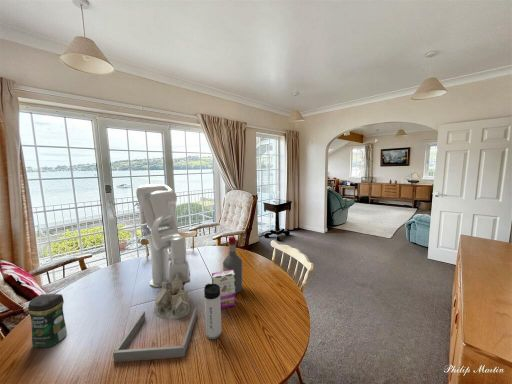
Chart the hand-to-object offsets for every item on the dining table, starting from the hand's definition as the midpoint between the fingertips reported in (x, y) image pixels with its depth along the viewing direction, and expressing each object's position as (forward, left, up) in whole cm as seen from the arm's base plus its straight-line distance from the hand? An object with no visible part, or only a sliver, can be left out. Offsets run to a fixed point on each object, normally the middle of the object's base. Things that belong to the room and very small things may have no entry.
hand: (180, 292), depth 110 cm
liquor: (-3, +28, -2) cm, 28 cm away
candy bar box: (+10, +24, -2) cm, 26 cm away
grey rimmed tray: (+27, 0, -2) cm, 27 cm away
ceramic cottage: (+11, -1, -2) cm, 11 cm away
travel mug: (+28, +21, -2) cm, 35 cm away
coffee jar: (+26, -43, -2) cm, 50 cm away
